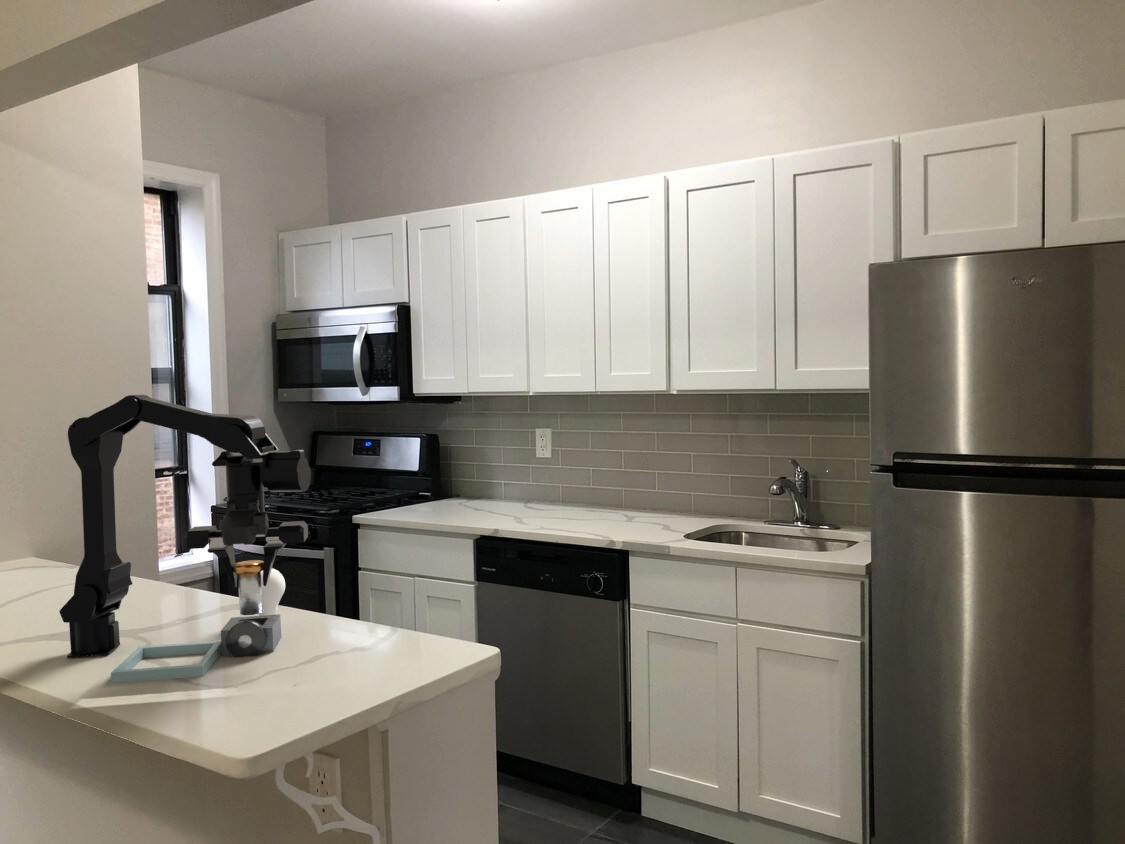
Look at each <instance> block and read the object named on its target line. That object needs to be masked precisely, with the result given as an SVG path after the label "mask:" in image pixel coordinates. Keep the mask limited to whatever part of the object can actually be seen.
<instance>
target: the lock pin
mask: <svg viewBox="0 0 1125 844" xmlns="http://www.w3.org/2000/svg"><path fill="white" fill-rule="evenodd" d="M263 566H264V560H259V559H252V560H251V559H250V560H243V561H239V562H235V564H234V573H237V582H238V583H237V584H238V585H237V586H238V602H239V615H241V616H256V615H258V614H259V613H262V612H263V603H262V584H261V571H263Z"/></svg>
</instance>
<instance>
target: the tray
mask: <svg viewBox="0 0 1125 844" xmlns="http://www.w3.org/2000/svg"><path fill="white" fill-rule="evenodd" d="M199 654H205V655H203V657H202V659H200V661H199V662H198V663H197V664H188V665H187V664H186V665H172V666H158V667H146V668H135V667H136V666H137V665H138V664H139V663H140V662H141V661H142V660H143V659H144V658H155V657H156V658H157V657H169V656H171V657H172V656H183V655H186V656H187V655H199ZM221 655H222V645H221V640H217V641H202V642H201V641H199V642H187V643H186V642H185V643H175V644H171V643H170V644H158V645H157V644H156V645H144V646H143V645H142V646H138V647H137V648H136V649H134V650H133V652H131V653H130V654H129V655H128V656H127V657H126V658H125V659H124V660H123V661H122V662H121V663H119V664H118V665H117V667H115V668H114V669H113V670H112V671H111V672H110V679H111V680H110V681H111V684H117V683H129V682H130V683H131V682H133V683H134V682H144V681H146V682H147V681H157V680H158V681H159V680H168V679H169V680H171V679H185V678H199V677H204V676H205V675H206V673H208V671H209V669H210V668H211V667H212V665H213V664H214V663H215V661H216V660H217V659H218V658H219V656H221Z"/></svg>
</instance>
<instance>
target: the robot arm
mask: <svg viewBox="0 0 1125 844" xmlns="http://www.w3.org/2000/svg"><path fill="white" fill-rule="evenodd" d="M141 422H143V423H147V424H152V425H155V426H159V427H163V428H168V429H171V430H174V431H178V432H182V433H186V434H190V435H194V436H198V437H200V438H202V439H205V441H207V442H209V444H211V445H213V446H216V447H217V448H220V449H222V450H224V451H221V452H220V454H219V456H217V458H216V459H215V460H213V461H212V462H211V465H212V467H225V481H226V483H225V485H226V511H225V515H224V517H223V520H222V521H221V522H222V523H221V524H220V525H221V526H220V529H221V530H218V528H217V526H216V525H204V526H202V525H201V526H193V527H192V528H191V529H189V530H187V531H186V533H185V534H184V537H183V547H184V549H185V550H193V549H196V550H197V549H205V548H206V547H207V546H208V549H207V552H208V553H209V554H210V553H211V554H212V553H213V554H214V555H215V556H216V557H217V558H218V559H219V560H220V562H221V564H222V566H223V568H224V571H225V572H226V575H227V578H228V579H229V582H230V585H231V586H232V588H233V589H235V588H237V586H238V585H237V584H238V583H237V582H238V574H237V573H234V564H235V563H236V556H235V549H234V548H235V547H234V545H244V546H246V545H247V546H248V545H252V544H253V543H255V542H256V541H257V540H265V542H266V544H265V545H264V546H262V547H263V561H264V566H263V585H264V586H266V585H267V583H268V579H269V576H270V573H271V569H272V568H273V565H274V563H275V558H276V557H277V554H278V552H279V550H280V549H283V548H284V547H285V546H286V545H287V544H301V543H305V542H306V540H307V538H309V526H308V523H306V522H305V521H304V520H298V521H297V520H296V521H295V520H294V521H283V522H282V523H280V525H279V527H270V523H269V516H268V514H267V513H268V512H267V511H266V510H265V492H264V488H266V489H267V490H268V491H269V492H270V493H285V492H287V493H288V492H289V493H290V492H293V493H294V492H295V493H296V492H306V491H308V489H309V488H310V484H311V478H312V477H311V476H312V472H311V471H312V470H311V469H312V468H310V465H309V462H308V458H307V457H305V455H306V454H305V450H304V449H295V450H291V451H289V450H288V451H287V450H286V451H283V450H282V451H281V450H280V449H279V448H278V446H277V445H276V444H275V443H274V442H273V440H272V439H271V438H270V436H269V435H268V434H267V433H266V428H265V425H264V424H263V421H262V420H261V419H260V418H259V417H257V416H255V415H245V414H230V413H228V414H226V413H211V412H207V411H203V410H199V409H197V408H196V409H195V408H193V407H188V406H184V405H181V404H177V403H172V402H169V401H164V400H160V399H156V398H153V397H150V396H149V395H146V394H128V395H127V396H126V395H125V396H124V397H123V398H122V399H120V400H118V401H117V402H115V403H113V404H111V405H110V406H107V407H105V408H102V409H100V410H99V411H96V412H95V413H92V414H91V415H90V416H84V417H79V418H77V419H75V420H74V421H73V422H72V423H71V424H70V425H69V426H68V428H67V440H68V444H69V450H70V454H71V456H72V458H73V461H74V462H75V463H76V465H77V466H78V468H79V471H80V478H81V481H80V482H81V505H82V508H81V509H82V532H83V533H82V534H83V558H82V560H81V563H80V565H79V567H78V569H77V571H76V574H75V580H74V587H73V588H74V589H73V595H72V596H71V597H70V599H69V600H68V601H67V602H66V603H65V604H64V605H63V606H62V607H61V608H60V609H59V615H60V617H61V619H62V621H63V623H69V624H68V625H69V626H68V628H69V642H70V644H69V645H70V652H69V653H68V654H67V655H66V659H74V658H89V657H102V656H104V657H105V656H109V655H110V654H111V653H113V652H114V651H115V650H116V649H117V648H118V647H119V646H121V642H120V627H119V625H120V624H119V620H116V614H115V611H117V610H119V609H120V607H121V604H122V601H123V600H124V598H125V597H126V596H127V594H128V592H129V591H130V590H129V588H130V586H131V585H132V586H133V582H132V578H131V570H132V569H131V568H132V565H131V564H132V563H131V562H130V561H125V562H124V561H122V559H121V557H120V556H119V554H118V552H117V535H116V534H117V533H116V532H117V531H116V530H117V527H116V502H115V476H114V475H115V474H114V472H115V466H116V463H118V459H119V457H120V456H121V452H122V448H123V443H124V442H123V441H124V436H125V435H127V434H128V433H130V432H132V431H133V430H134V429H135V428H137V427H138V425H140V423H141ZM232 453H235V454H232ZM237 453H238V454H237ZM236 454H237V455H236ZM260 459H261V460H260Z"/></svg>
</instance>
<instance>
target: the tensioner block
mask: <svg viewBox="0 0 1125 844" xmlns="http://www.w3.org/2000/svg"><path fill="white" fill-rule="evenodd" d="M281 618H282V617H281V614H279V613H278V614H275V615H263V616H259V615H247V616H238V617H236V616H235V617H233V616H232V617H230V618H229V620H228V621H227V622H226V623H225V625H224V626H223V627H222V629H221V630H220V639H221V640H220V641H221V645H222V652H221V656H223V657H224V656H233V657H234V658H246V657H247V658H248V657H257V656H259V654H261V653H262V654H265V653H273V652H275V651H276V649H277V646H278V645H279V642H280V641H281V640H282V621H281Z"/></svg>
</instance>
